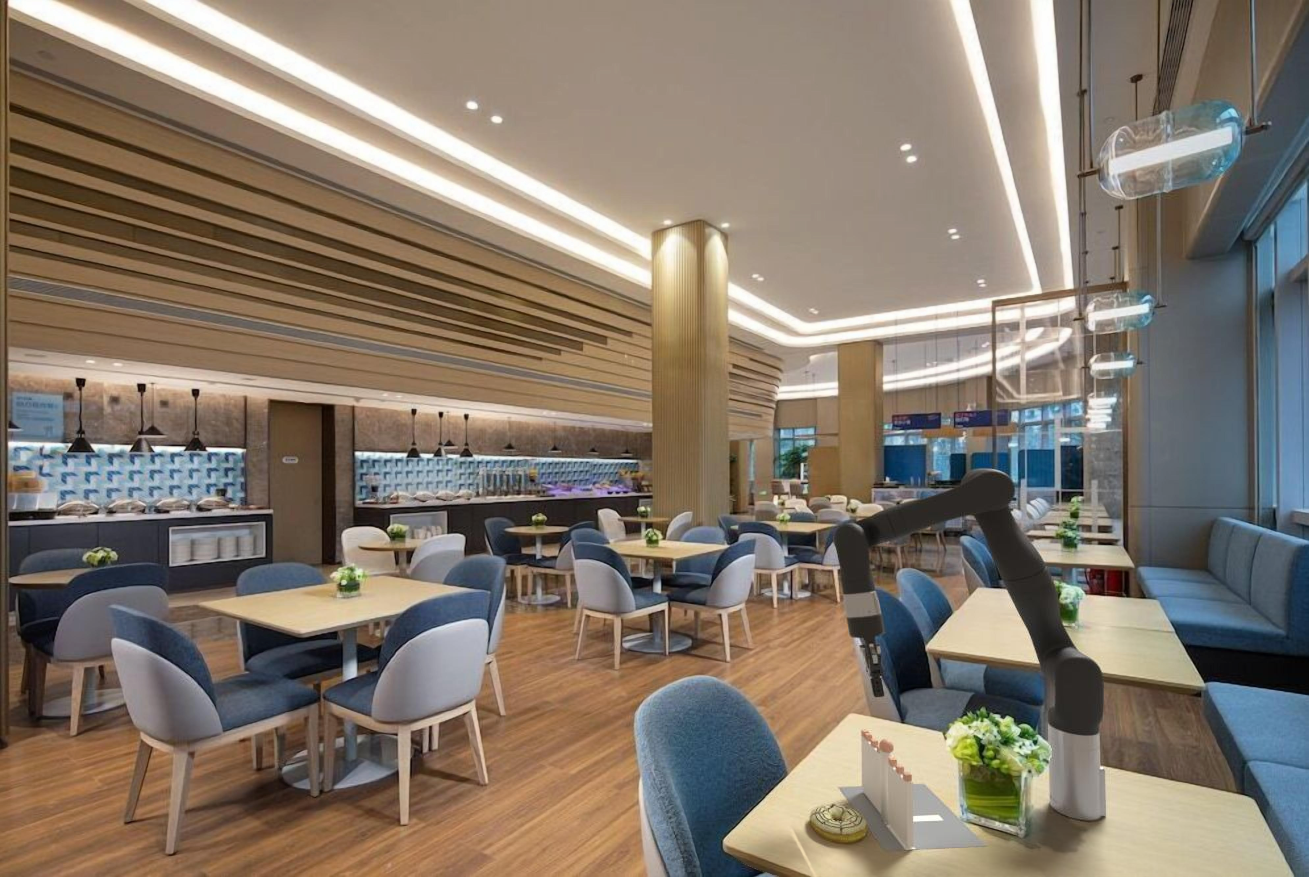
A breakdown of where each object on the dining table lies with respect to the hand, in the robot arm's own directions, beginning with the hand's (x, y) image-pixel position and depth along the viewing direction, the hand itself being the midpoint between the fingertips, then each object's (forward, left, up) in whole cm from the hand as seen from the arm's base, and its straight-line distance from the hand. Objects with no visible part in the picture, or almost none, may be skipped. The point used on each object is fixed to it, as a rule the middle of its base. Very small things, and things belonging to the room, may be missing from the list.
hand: (878, 696), depth 139 cm
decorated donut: (+12, +9, -24) cm, 28 cm away
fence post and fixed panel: (+1, +11, -22) cm, 25 cm away
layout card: (-4, +5, -23) cm, 24 cm away
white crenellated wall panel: (+1, 0, -22) cm, 22 cm away
